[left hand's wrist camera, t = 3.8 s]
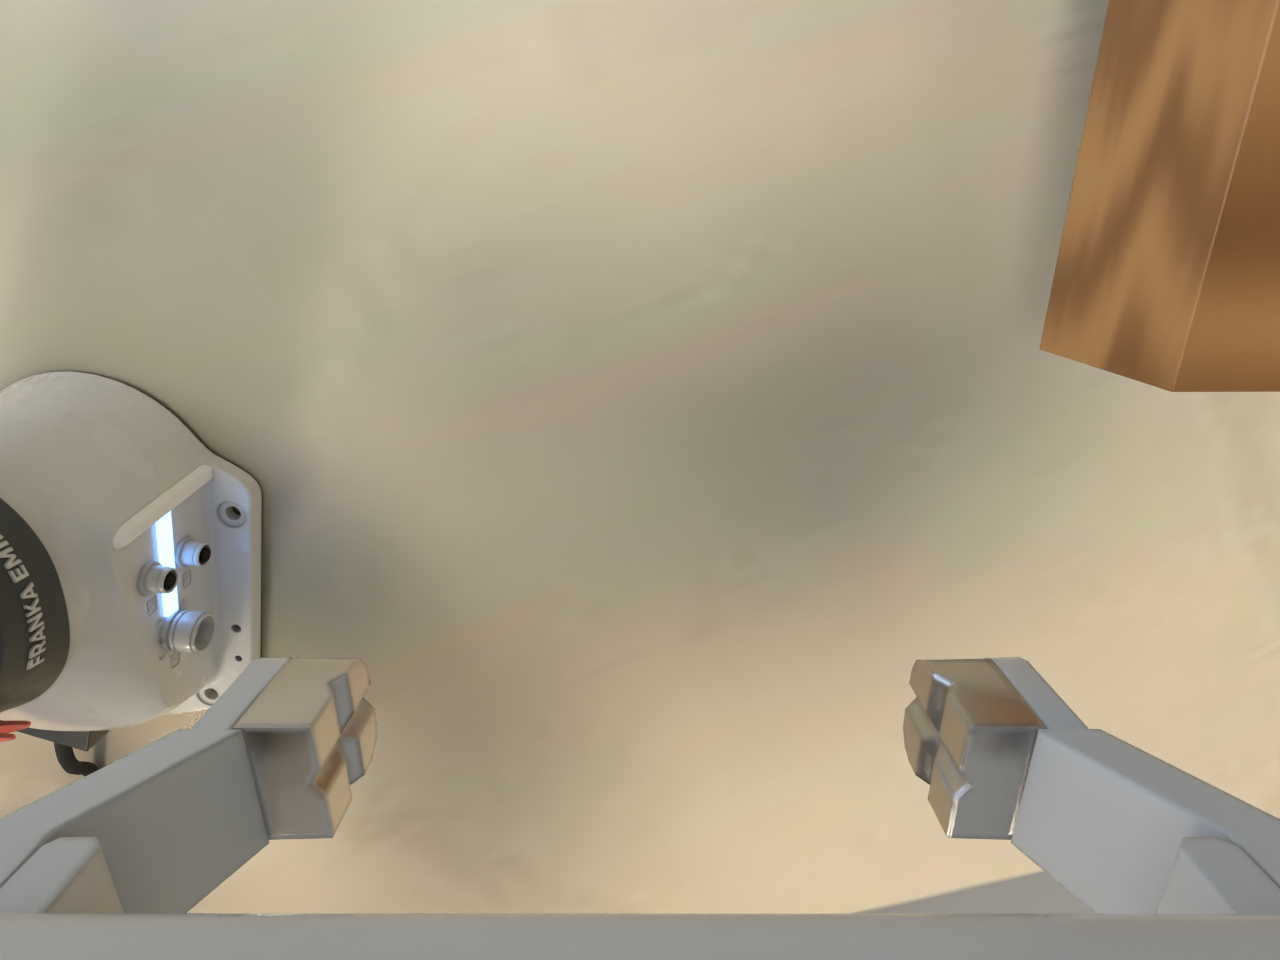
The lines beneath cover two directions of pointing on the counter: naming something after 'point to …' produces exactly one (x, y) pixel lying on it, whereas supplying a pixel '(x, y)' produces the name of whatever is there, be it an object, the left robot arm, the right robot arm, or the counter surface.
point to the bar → (1177, 201)
